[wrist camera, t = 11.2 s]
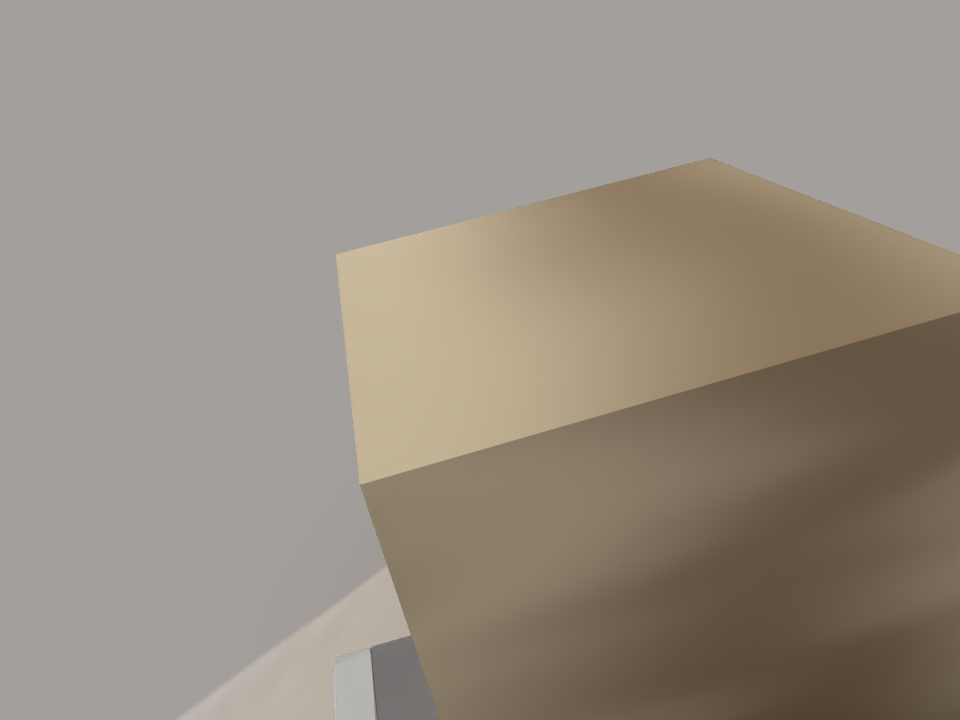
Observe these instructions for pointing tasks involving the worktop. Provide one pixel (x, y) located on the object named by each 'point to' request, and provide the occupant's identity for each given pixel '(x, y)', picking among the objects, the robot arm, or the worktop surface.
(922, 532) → the oak block
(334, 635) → the worktop surface
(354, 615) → the worktop surface
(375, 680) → the robot arm
